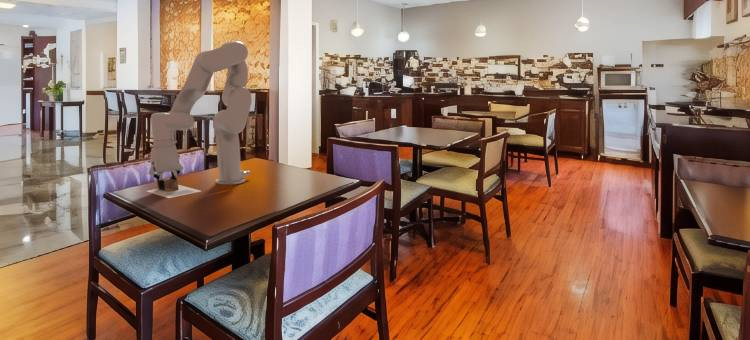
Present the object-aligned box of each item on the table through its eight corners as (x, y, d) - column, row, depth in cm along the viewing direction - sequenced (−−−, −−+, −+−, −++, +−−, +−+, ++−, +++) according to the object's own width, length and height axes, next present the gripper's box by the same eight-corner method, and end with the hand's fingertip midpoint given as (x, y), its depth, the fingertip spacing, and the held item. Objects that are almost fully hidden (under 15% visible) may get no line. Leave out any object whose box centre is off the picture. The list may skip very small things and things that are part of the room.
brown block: (168, 186, 191) (167, 177, 190) (178, 189, 186) (177, 180, 185) (157, 189, 187) (156, 179, 187) (167, 191, 183) (166, 182, 182)
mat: (178, 185, 195) (178, 184, 195) (202, 192, 184) (202, 190, 184) (145, 192, 184) (145, 190, 184) (168, 199, 173) (168, 198, 173)
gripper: (178, 140, 192) (182, 183, 195) (138, 145, 179) (142, 190, 182) (188, 142, 187) (192, 185, 191) (147, 147, 174) (151, 193, 178)
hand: (167, 187), depth 187 cm, fingers closed on brown block, 4 cm apart
